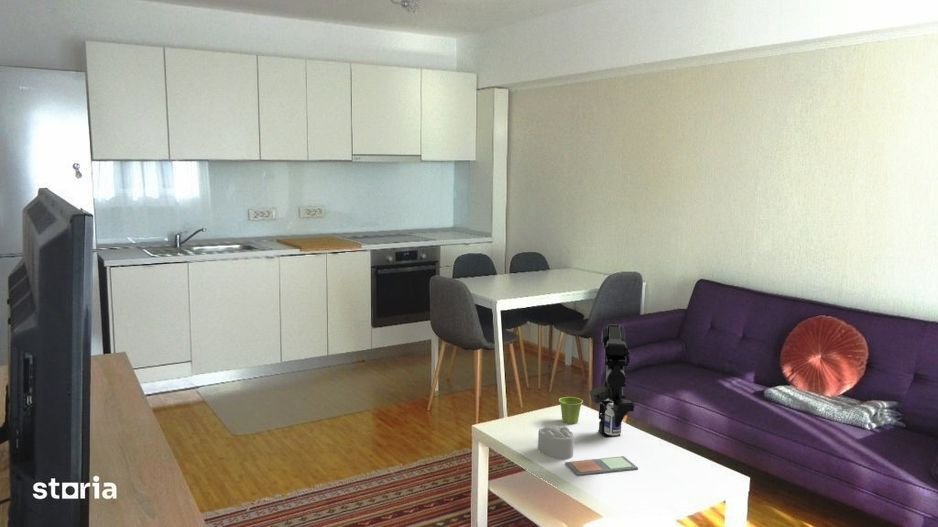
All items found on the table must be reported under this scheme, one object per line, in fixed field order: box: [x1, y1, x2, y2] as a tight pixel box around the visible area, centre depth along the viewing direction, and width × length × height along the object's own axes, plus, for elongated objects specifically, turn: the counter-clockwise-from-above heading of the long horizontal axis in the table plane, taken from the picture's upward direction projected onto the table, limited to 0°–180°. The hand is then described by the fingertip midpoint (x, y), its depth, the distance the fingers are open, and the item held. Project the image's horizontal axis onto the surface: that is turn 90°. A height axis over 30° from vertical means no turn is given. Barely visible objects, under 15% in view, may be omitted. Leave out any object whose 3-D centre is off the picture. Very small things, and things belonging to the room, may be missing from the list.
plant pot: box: [558, 396, 584, 425], centre depth 282 cm, size 9×9×9 cm
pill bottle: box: [604, 403, 623, 435], centre depth 244 cm, size 6×6×10 cm
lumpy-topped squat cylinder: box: [537, 424, 575, 460], centre depth 251 cm, size 10×13×9 cm
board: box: [564, 455, 639, 477], centre depth 240 cm, size 22×10×1 cm, turn 106°
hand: (613, 423), depth 244 cm, fingers closed on pill bottle, 6 cm apart
